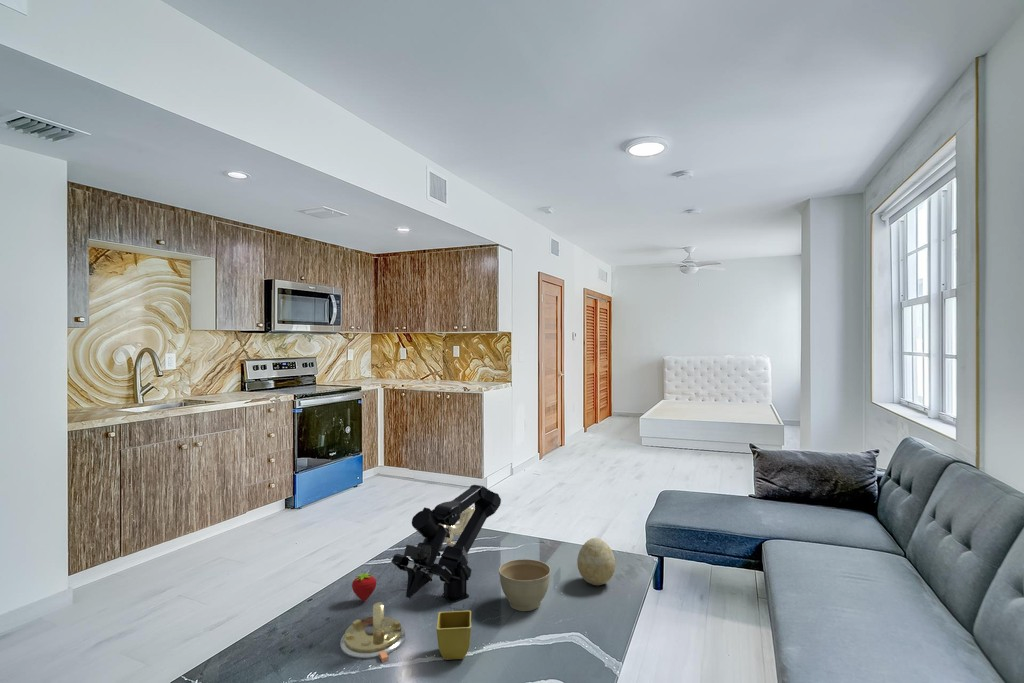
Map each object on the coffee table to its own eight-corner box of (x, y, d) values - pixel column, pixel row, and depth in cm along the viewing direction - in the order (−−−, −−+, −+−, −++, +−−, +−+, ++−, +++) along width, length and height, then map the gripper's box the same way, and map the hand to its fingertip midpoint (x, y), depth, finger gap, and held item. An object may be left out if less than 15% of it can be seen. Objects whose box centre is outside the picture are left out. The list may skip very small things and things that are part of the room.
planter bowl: (558, 597, 161) (557, 563, 161) (539, 622, 146) (539, 584, 146) (512, 588, 168) (512, 555, 168) (490, 610, 153) (489, 574, 153)
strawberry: (376, 604, 157) (376, 572, 157) (350, 607, 155) (350, 574, 155) (377, 595, 163) (377, 564, 163) (352, 598, 161) (352, 566, 161)
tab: (378, 656, 130) (378, 652, 130) (384, 654, 131) (385, 650, 131) (382, 662, 128) (382, 658, 128) (388, 660, 128) (388, 656, 129)
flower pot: (438, 645, 135) (438, 611, 135) (471, 643, 136) (471, 609, 136) (436, 665, 126) (436, 629, 127) (471, 663, 127) (471, 627, 127)
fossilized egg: (573, 588, 167) (572, 542, 168) (582, 572, 179) (582, 530, 179) (611, 595, 163) (611, 548, 163) (618, 578, 174) (618, 534, 175)
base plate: (390, 617, 150) (390, 605, 150) (415, 644, 136) (415, 630, 136) (332, 636, 140) (332, 623, 140) (352, 667, 126) (352, 653, 126)
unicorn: (433, 553, 197) (433, 509, 197) (431, 549, 201) (431, 506, 201) (482, 546, 204) (482, 503, 204) (479, 542, 208) (479, 500, 208)
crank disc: (339, 630, 141) (340, 590, 141) (393, 617, 148) (393, 578, 148) (350, 659, 128) (350, 614, 128) (408, 643, 135) (408, 600, 135)
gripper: (395, 526, 152) (368, 578, 142) (445, 537, 142) (420, 594, 133) (412, 543, 158) (388, 594, 149) (461, 555, 149) (438, 610, 140)
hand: (407, 597), depth 142 cm, fingers closed
